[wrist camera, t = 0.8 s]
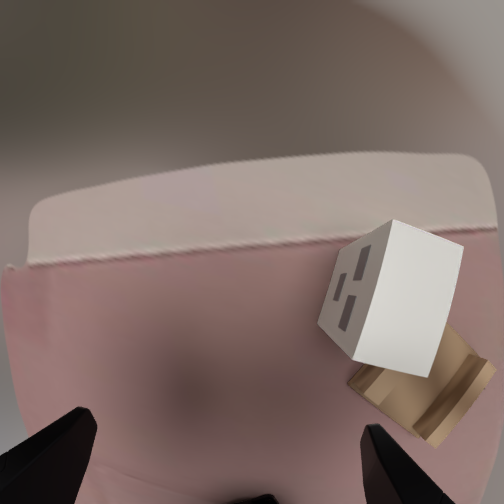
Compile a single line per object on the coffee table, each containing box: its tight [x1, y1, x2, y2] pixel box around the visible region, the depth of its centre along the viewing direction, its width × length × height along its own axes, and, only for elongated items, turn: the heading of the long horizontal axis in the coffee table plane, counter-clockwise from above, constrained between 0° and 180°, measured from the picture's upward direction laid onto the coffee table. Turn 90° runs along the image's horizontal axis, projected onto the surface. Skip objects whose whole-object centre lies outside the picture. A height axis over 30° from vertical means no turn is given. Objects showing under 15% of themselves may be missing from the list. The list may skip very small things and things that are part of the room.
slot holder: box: [347, 322, 496, 448], centre depth 21 cm, size 9×9×4 cm
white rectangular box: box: [317, 219, 464, 377], centre depth 18 cm, size 6×4×12 cm, turn 162°
